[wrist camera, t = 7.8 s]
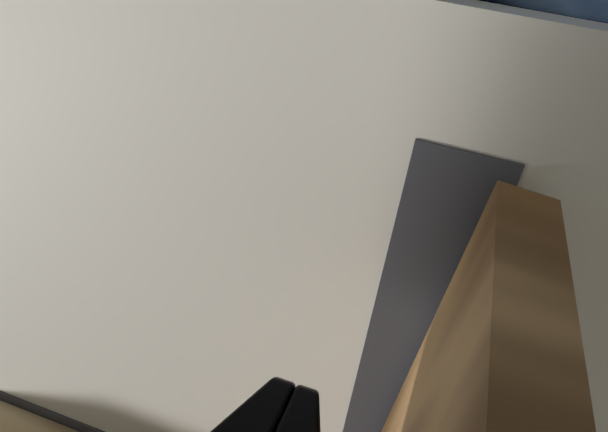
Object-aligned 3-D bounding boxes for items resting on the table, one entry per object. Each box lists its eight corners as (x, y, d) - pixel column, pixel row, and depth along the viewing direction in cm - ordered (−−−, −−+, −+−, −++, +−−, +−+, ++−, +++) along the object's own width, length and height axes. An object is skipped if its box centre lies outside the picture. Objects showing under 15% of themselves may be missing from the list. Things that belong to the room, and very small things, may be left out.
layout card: (575, 673, 17) (577, 699, 17) (-21, 428, 22) (-35, 442, 21) (1177, 125, 7) (1235, 146, 6) (-225, -126, 11) (-262, -127, 11)
